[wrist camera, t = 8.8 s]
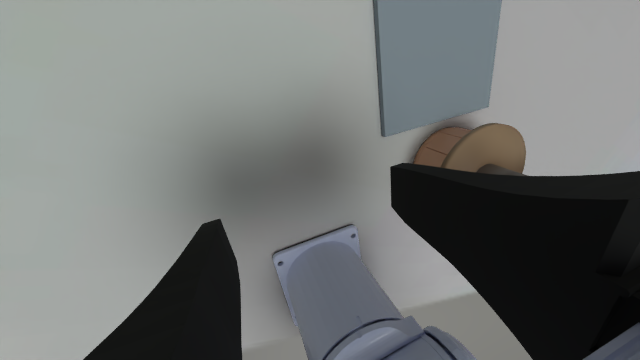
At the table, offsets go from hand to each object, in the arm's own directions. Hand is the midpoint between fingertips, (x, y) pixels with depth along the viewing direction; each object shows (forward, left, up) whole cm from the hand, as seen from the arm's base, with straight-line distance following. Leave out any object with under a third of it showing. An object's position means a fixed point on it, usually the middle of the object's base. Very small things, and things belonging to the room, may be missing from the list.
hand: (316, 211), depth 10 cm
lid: (-6, -15, -6) cm, 17 cm away
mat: (+4, -14, -9) cm, 18 cm away
